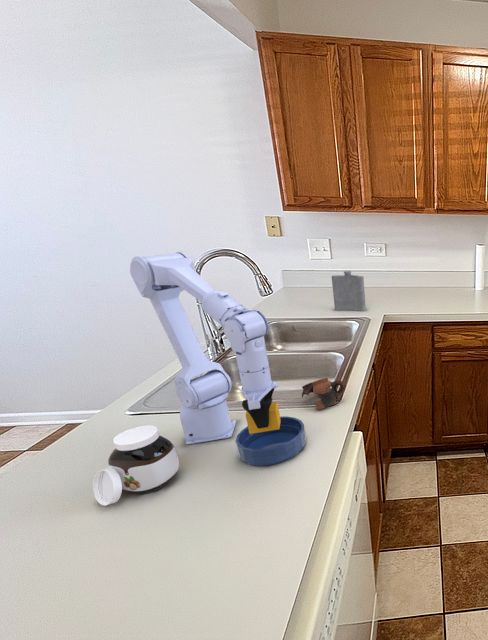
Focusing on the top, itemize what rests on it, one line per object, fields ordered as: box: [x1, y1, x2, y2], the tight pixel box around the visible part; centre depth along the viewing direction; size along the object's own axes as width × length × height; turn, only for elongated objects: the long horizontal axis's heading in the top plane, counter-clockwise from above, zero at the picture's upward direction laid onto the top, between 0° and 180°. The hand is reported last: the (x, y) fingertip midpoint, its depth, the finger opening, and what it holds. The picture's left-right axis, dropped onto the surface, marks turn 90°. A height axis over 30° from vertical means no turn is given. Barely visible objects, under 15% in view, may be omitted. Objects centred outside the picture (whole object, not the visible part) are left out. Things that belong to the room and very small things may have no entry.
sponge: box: [245, 401, 281, 434], centre depth 89 cm, size 6×4×5 cm, turn 111°
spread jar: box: [92, 424, 180, 506], centre depth 78 cm, size 12×11×12 cm
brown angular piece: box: [301, 377, 346, 411], centre depth 115 cm, size 12×10×8 cm
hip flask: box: [331, 270, 367, 312], centre depth 202 cm, size 16×4×20 cm, turn 90°
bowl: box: [235, 415, 307, 467], centre depth 93 cm, size 14×14×4 cm
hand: (264, 421), depth 90 cm, fingers closed on sponge, 4 cm apart
